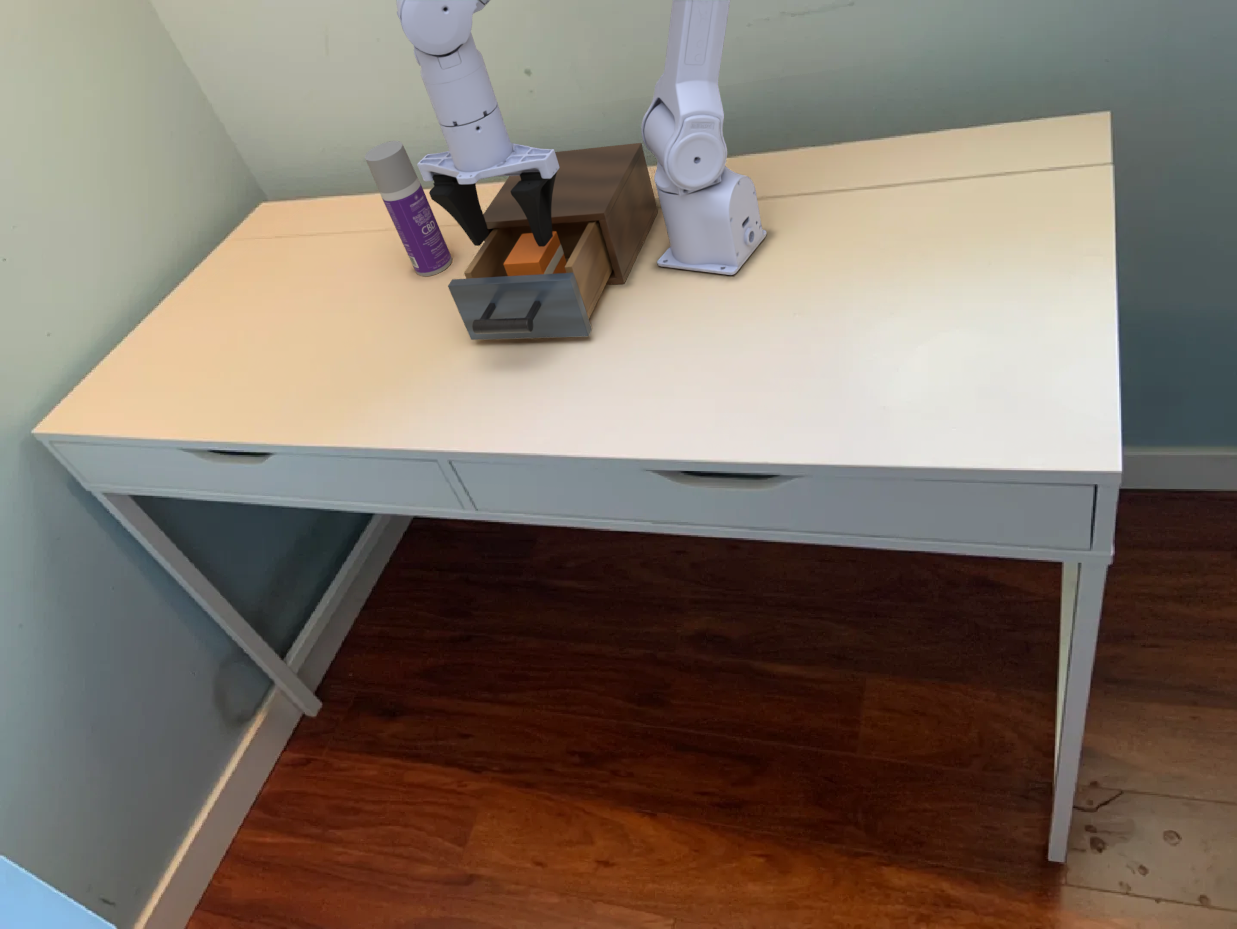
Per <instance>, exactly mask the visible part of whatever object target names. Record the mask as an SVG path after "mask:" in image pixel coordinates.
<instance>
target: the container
mask: <svg viewBox="0 0 1237 929" xmlns="http://www.w3.org/2000/svg"><path fill="white" fill-rule="evenodd" d="M364 159H365V162H366V164H367V166H368V169H369V171H370V174H371V176H372V178H373V181H374V183H375V185H376V187H377V190H378V193H379V195H380V197H381V199H382V201H383V204H384V206H385V208H386V211H387V212H388V215H389V217H390V219H391V222H392V224H393V226H394V228H395V230H396V232H397V234H398V237H399V238H400V240H401V243H402V245H403V247H404V250H405V251H406V255H407V257H408V258H409V260H410V262H411V265H412V267H413V269H414V271H415V273H416V274H417V275H418V276H420V277H432V276H435V275H437V274H440V273H442V272H444V271H445V270H447V269H448V268H449V267H450V266H451V264H452V263H453V257H452V254H451V253H450V250H449V248H448V245H447V243H446V241H445V238H444V236H443V233H442V231H441V228H440V226H439V224H438V221H437V219H436V216H435V214H434V212H433V209H432V206H431V204H430V202H429V200H428V197H427V195H426V192H425V191H424V188H423V186H422V184H421V181H420V178H419V176H418V175H417V173H416V171H415V168H414V166H413V164H412V161H411V159H410V157H409V155H408V153H407V150H406V148H405V146H404V144H403V142H402V141H399V140H390V141H386V142H385V141H384V142H382V143H380V144H377V145H376V146H373V147H372V148H371V149H369V150H368V151H367V152H366V153H365V155H364Z"/></svg>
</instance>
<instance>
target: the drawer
mask: <svg viewBox="0 0 1237 929" xmlns="http://www.w3.org/2000/svg"><path fill="white" fill-rule="evenodd" d="M553 231H556V232H557V235H558V238H559V241H560V244H561V246H562V249H563V252H564V256H565V259H566V262H567V264H566V265H565V270H566V273H556V274H539V275H521V276H508V275H507V273H506V270H505V267H504V265H503V264H504V262H505V260H506V259H507V257H508V256H509V254H510V252H511V251H512V249H513V248H514V246H515V244H516V243H517V241H518V240H519V238H520V236H521V235H522V234H526V233H532V231H531V228H530V226H519V227H506V228H493V230H492V231H491V233H490V234H489V236H488V237H487V239H486V240H485V242H484V241H483V243H482V244H481V245H480V246H481V247H479V249H478V251H477V253H476V254H475V255H474V257H473V258H472V260H471V261H470V263H469V265H468V266H467V267H466V269H465V270H464V272H463V274H464V277H465V278H452V279H451V280H450V282H449V283H448V285H447V288H448V290H449V292H450V296H451V297H452V299H453V302H454V304H455V307H456V309H457V311H458V313H459V315H460V317H461V320H462V323H463V324H464V327H465V329H466V331H467V334H468V336H469V338H470V341H479V340H480V341H481V340H511V339H512V340H513V339H514V340H515V339H518V340H519V339H547V338H548V339H550V338H580V337H584V338H585V337H590V335H591V333H592V330H593V328H592V324H591V322H590V318H591V315H592V313H593V311H594V309H595V307H596V305H597V304H598V301H599V299H600V297H601V295H602V293H603V291H604V289H605V287H606V286H607V285H606V283H607V281H608V279H609V277H610V275H611V273H612V270H613V266H612V263H611V260H610V256H609V253H608V249H607V246H606V243H605V239H604V236H603V232H602V229H601V226H600V222H599V220H596V221H583V222H570V223H558V224H552V232H553Z"/></svg>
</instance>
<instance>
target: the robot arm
mask: <svg viewBox="0 0 1237 929" xmlns="http://www.w3.org/2000/svg"><path fill="white" fill-rule="evenodd" d="M395 2H396V3H395V4H396V10H397V11H396V15H397V17H398V19H399V23H400V26H401V28H402V31H403V33H404V35H405V37H406V38H407V40H408V41H409V42H410V43H411V44H412V46H413V55H414V58H415V60H416V63H417V64H418V66H420V77H421V80H422V82H423V84H424V88H425V90H426V92H427V95H428V98H429V101H430V103H431V105H432V109H433V112H434V114H435V118H436V120H437V122H438V124H439V127H440V131H441V133H442V136H443V138H444V141H445V144H446V146H447V148H448V150H447V151H442V152H435V153H426V155H425V156H423V157H422V159H420V160H419V161H418V162H417V163H416V165H417V167H418V170H419V173H420V174H421V178H422V179H423V182H433V183H432V184H433V187H432V188H431V189H430V190H429V192H428V194H429V196H430V199H431V200H432V201H433V202H434V203H436V204H438V206H440V207H442V209H444V210H445V211H446V212H447V213H448V214H449V215H450V216H451V218H452V219H454V220H455V222H456V223H457V224H458V225H459V226H460V228H461V229H462V231H463V232H464V233H465V235H466V236H467V237H468V239H469V240H470V241H471V244H473V245H474V247H480V246H482V245H483V243H484V240H485V239H486V238H487V237H488V235H489V234H488V228H487V224H486V221H485V218H484V215H483V214H484V212H483V209H482V206H481V204H480V200H479V199H480V198H479V194H478V191H477V184H476V183H477V182H479V181H480V180H484V179H489V178H493V177H509V176H520V178H521V181H519V182H518V183H517V184H516V185H515V186H514V187H513V189H512V190H511V191H510V192H511V195H512V196H513V197H514V198H515V200H516V201H517V202H518V204H519V205H520V207H521V208H522V210H523V212H524V214H525V216H526V218H527V220H528V222H529V225H530V228H531V231H532V233H533V236H534V239H535V241H536V243H537V244H538V246H539V247H544V246H546V244H547V243H548V242H549V241H550V239H551V238H552V237H553V232H552V218H551V206H552V194H553V188H554V182H555V178H556V174H557V170H558V169H559V168H560V167H559V164H558V161H557V157H556V154H555V152H556V151H555V149H554V148H550V149H549V148H539V147H533V146H529V145H525V144H524V145H523V144H519V143H514V142H511V140H510V136H509V133H508V130H507V127H506V124H505V121H504V118H503V115H502V112H501V109H500V106H499V102H498V100H497V96H496V93H495V90H494V87H493V85H492V82H491V79H490V76H489V73H488V70H487V66H486V64H485V59H484V58H483V55H482V53H481V51H480V50H479V49H478V48H477V45H476V43H475V40H474V37H473V34H472V28H473V15H474V14H475V13H478V12H480V11H482V10H484V8H485V7H486V6H487V5H488V4H489V3H490V2H491V0H395ZM730 6H731V0H672V1H671V8H670V9H671V10H670V18H669V28H668V34H667V43H666V52H665V59H664V60H665V61H664V69H663V72H662V74H661V76H660V77H659V78H658V79H657V81H656V83H655V84H654V89H653V90H654V91H653V97H652V100H651V103H650V105H649V107H648V109H647V110H646V111H645V114H643V117H642V120H641V125H640V134H641V140H642V142H643V144H644V146H645V147H646V149H647V150H648V151H649V152H651V153H652V154H653V156H654V157H655V159H656V160H657V162H656V169H655V173H654V176H653V177H654V184H655V188H656V192H657V196H658V199H659V200H658V201H659V204H660V208H661V212H662V216H663V217H662V218H663V221H664V225H665V228H666V233H667V237H668V241H669V247H668V248H667V249H666V250H665V252H664V253H663V254H662V255H661V256H660V258H659V259H657V261H656V264H657V266H658V267H662V268H663V267H664V268H669V269H670V268H671V269H677V270H678V269H679V270H687V271H695V272H703V273H711V274H721V275H726V276H733V275H735V274H737V273H738V271H739V270H740V269H741V267H742V266H743V265H744V264H745V263H746V262H747V260H748V259H749V258H750V257H751V255H752V254H753V253H754V251H755V250H756V249H757V248H758V247H759V245H760V244H761V243H762V241H763V240H764V239H765V238H766V236H767V234H768V233H767V230H765V229H763V225H762V220H761V213H760V207H759V202H758V196H757V190H756V186H755V183H754V181H753V180H752V178H751V177H749V176H748V175H745V174H741V173H737V172H735V171H733V170H731V169H730V168H728V166H726V165H727V164H726V163H727V159H728V148H727V143H726V140H725V137H724V132H723V129H724V128H723V127H724V121H725V120H724V118H725V112H724V107H723V102H722V98H721V93H720V88H719V78H720V77H719V76H720V73H721V72H720V70H721V65H722V58H723V53H724V52H723V51H724V44H725V40H726V39H725V38H726V32H727V26H728V25H727V24H728V18H729V12H730Z"/></svg>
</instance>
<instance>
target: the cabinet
mask: <svg viewBox="0 0 1237 929" xmlns="http://www.w3.org/2000/svg"><path fill="white" fill-rule="evenodd" d="M555 154H556V157H557V161H558V164H559V167H560V168H559V169H558V170H557V174H556V178H555V182H554V188H553V194H552V206H551V218H552V224H558V223H570V222H583V221H596V220H599V222H600V226H601V229H602V232H603V236H604V239H605V243H606V246H607V249H608V253H609V256H610V260H611V263H612V266H613V270H612V273H611V275H610V277H609V279H608V281H607V283H606V285H605V286H607V285H624V284H625V283H626V281H627V279H628V278H629V274H630V272H631V270H632V269H633V266H634V264H635V261H636V260H637V258H638V255H639V254H640V252H641V249H642V247H643V244H644V242H645V240H646V239H647V236H648V234H649V232H650V229H651V228H652V225H653V224H654V221H655V219H656V217H657V214H658V213H659V209H658V206H657V200H656V197H655V196H656V195H655V193H654V188H653V185H652V181H651V176H650V172H649V168H648V164H647V160H646V157H645V152H644V147H643V143H642V142H635V143H625V144H616V145H606V146H598V147H587V148H580V149H579V148H578V149H569V150H561V151H555ZM519 181H521V178H520V176H507V179H506V180H505V182H504V183H503V185H502V186H501V188H500V189H499V190H498V192H497V193H496V195H495V197H494V198H493V199H492V201H491V202H490V204H489V205H488V207H487V208H486V209H485V211H484V212H483V215H484V218H485V221H486V224H487V228H488V234H490V233H491V231H492V230H493V228H506V227H519V226H530V225H529V222H528V220H527V218H526V216H525V214H524V212H523V210H522V208H521V207H520V205H519V204H518V202H517V201H516V200H515V198H514V197H513V196H512V195H511V192H510V191H511V190H512V189H513V187H514V186H515V185H516V184H517V183H518V182H519ZM488 236H489V235H488ZM486 239H487V238H486ZM486 239H485V240H486ZM485 240H484V241H483V243H484V242H485Z"/></svg>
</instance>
